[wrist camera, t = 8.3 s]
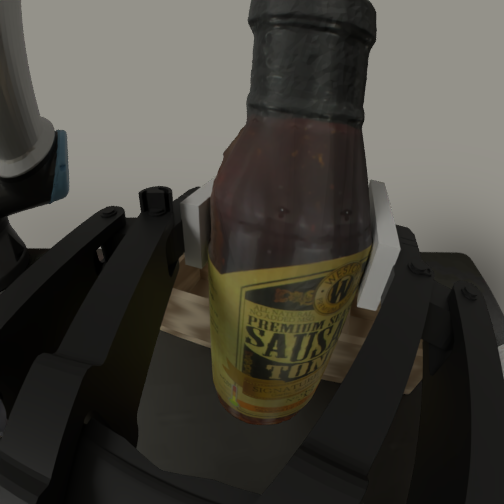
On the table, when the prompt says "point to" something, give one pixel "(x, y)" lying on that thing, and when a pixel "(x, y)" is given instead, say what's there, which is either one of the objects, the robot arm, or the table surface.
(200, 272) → the wooden compartment box
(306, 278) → the sauce bottle
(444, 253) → the table surface
